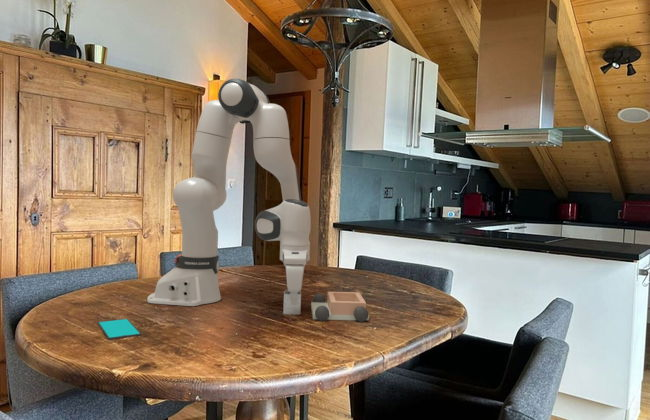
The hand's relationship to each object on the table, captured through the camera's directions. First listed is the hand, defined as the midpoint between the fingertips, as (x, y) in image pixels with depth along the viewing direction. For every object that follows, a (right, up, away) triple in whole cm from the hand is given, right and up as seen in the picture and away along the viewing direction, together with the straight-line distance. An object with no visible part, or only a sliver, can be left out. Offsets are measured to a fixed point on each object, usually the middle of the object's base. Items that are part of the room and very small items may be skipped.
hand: (293, 300), depth 138 cm
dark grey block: (0, -4, 0) cm, 4 cm away
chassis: (+14, -4, +1) cm, 14 cm away
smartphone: (-42, -3, -23) cm, 48 cm away
